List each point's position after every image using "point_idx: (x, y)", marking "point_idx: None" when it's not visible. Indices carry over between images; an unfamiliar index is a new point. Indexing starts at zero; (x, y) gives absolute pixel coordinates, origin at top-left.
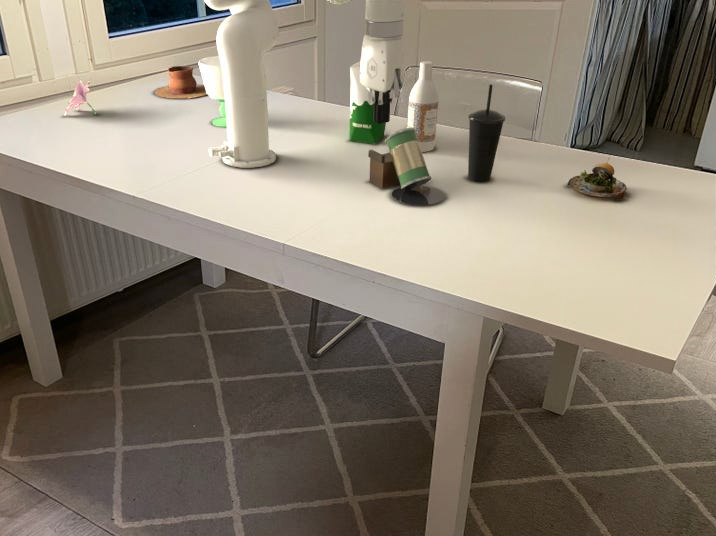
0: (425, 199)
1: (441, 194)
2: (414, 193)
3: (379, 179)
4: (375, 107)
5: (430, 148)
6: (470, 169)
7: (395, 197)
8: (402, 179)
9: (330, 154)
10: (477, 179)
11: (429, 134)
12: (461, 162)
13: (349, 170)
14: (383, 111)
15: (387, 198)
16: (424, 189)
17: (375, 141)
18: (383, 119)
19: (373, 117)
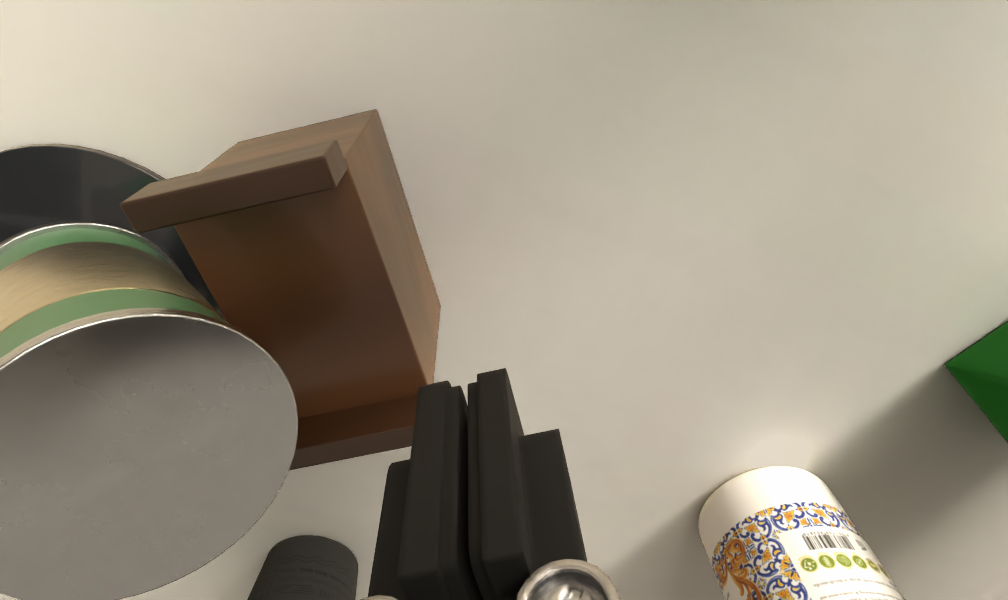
0: None
1: None
2: None
3: (251, 148)
4: (479, 517)
5: (701, 538)
6: (285, 578)
7: (54, 159)
8: (26, 247)
9: (990, 45)
10: (266, 559)
11: (725, 593)
12: None
13: (631, 60)
14: (383, 545)
15: (69, 113)
16: None
17: (956, 372)
18: (392, 466)
19: (502, 398)
